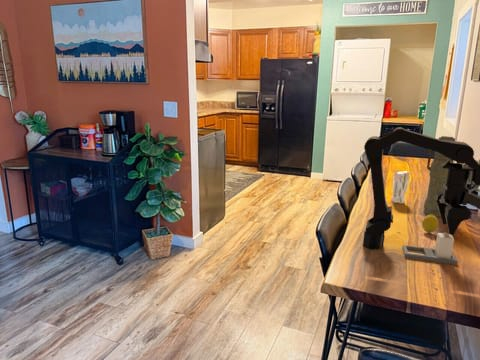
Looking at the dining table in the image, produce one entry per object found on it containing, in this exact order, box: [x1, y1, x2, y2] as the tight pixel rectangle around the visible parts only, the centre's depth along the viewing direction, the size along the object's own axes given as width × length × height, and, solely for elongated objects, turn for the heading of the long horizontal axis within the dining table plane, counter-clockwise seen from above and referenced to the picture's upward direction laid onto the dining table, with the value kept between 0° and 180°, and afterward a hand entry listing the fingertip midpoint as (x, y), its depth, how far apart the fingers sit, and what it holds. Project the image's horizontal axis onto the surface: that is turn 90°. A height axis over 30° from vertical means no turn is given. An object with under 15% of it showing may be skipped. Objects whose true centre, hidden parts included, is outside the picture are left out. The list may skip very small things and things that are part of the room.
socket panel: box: [401, 244, 459, 266], centre depth 119 cm, size 16×7×2 cm, turn 73°
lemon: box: [421, 214, 439, 234], centre depth 138 cm, size 6×6×8 cm
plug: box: [434, 231, 455, 259], centre depth 117 cm, size 4×4×9 cm
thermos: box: [423, 135, 458, 219], centre depth 156 cm, size 9×12×35 cm
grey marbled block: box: [391, 170, 410, 205], centre depth 175 cm, size 7×7×15 cm
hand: (447, 229), depth 115 cm, fingers open, 9 cm apart
